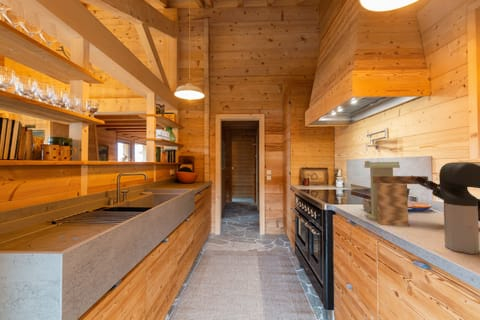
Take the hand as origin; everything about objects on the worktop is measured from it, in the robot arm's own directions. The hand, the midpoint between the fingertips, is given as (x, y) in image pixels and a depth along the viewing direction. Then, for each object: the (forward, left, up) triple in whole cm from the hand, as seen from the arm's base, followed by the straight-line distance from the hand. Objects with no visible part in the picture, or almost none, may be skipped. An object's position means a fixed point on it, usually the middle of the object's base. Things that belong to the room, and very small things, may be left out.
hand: (413, 177), depth 115 cm
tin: (+20, +25, -26) cm, 41 cm away
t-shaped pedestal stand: (+4, +15, -25) cm, 30 cm away
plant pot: (+32, +11, -26) cm, 43 cm away
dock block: (-4, +10, -25) cm, 27 cm away
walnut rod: (-2, +6, -3) cm, 7 cm away
